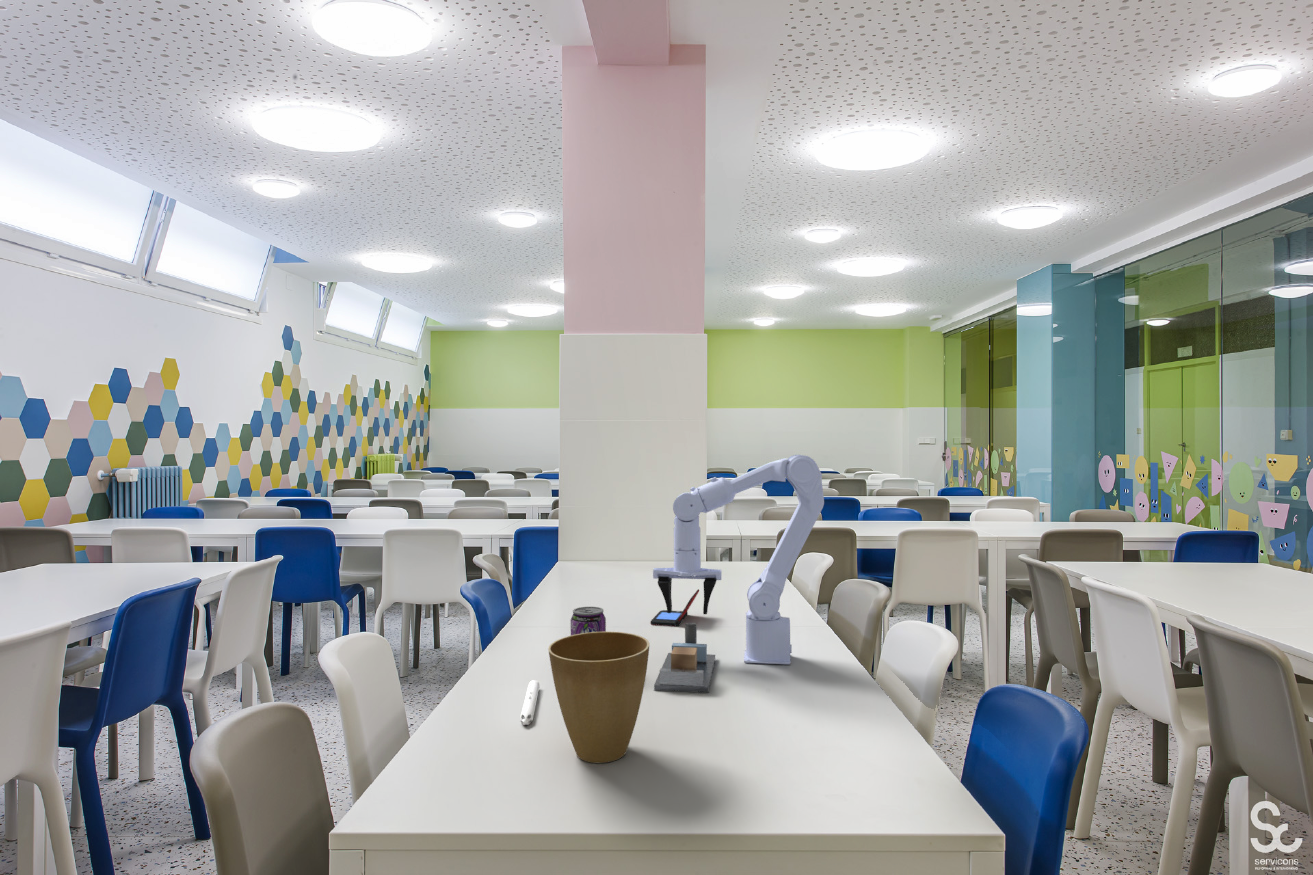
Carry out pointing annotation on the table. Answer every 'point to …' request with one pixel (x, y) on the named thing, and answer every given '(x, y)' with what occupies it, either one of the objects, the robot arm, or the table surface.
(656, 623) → the handheld game console
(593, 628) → the beverage can
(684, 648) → the brown block
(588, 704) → the plant pot
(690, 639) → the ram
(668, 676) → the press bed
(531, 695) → the marker
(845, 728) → the table surface
